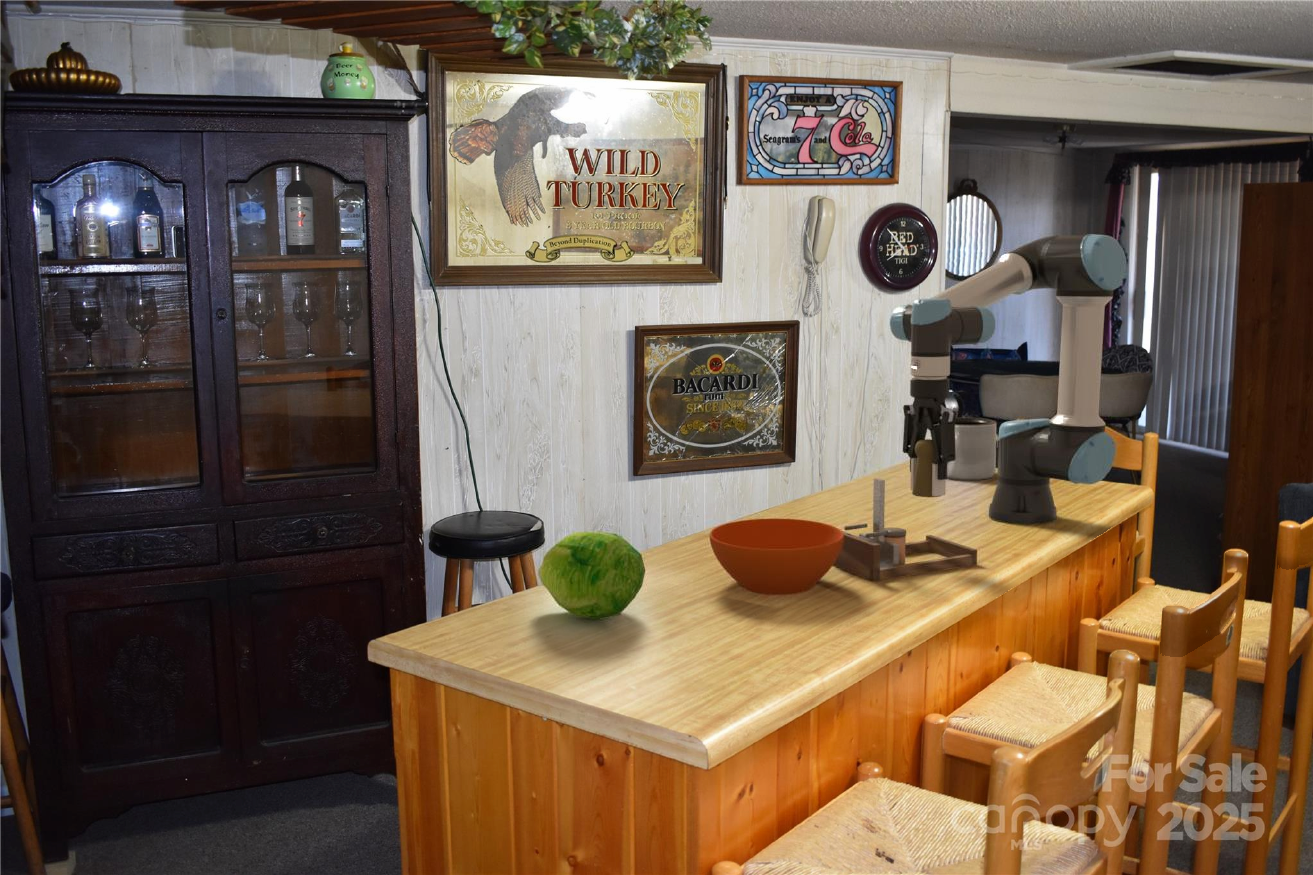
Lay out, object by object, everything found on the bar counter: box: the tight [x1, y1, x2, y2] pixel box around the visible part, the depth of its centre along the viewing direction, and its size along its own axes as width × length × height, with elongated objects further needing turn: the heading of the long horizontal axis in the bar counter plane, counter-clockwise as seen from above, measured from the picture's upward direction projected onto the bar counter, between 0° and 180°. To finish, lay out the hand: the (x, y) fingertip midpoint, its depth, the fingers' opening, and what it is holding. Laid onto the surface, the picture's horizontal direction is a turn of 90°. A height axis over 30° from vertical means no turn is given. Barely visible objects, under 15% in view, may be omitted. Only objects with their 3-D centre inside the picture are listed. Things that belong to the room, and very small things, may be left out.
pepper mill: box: [911, 438, 940, 498], centre depth 229 cm, size 6×6×11 cm
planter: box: [938, 416, 997, 481], centre depth 319 cm, size 16×16×16 cm
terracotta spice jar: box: [884, 526, 907, 565], centre depth 228 cm, size 5×5×7 cm
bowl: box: [709, 518, 844, 596], centre depth 216 cm, size 25×25×10 cm
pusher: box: [858, 477, 899, 568], centre depth 225 cm, size 1×11×18 cm, turn 25°
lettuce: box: [537, 531, 646, 620], centre depth 199 cm, size 17×20×15 cm
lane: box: [833, 523, 978, 582], centre depth 229 cm, size 25×14×8 cm, turn 115°
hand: (927, 492), depth 230 cm, fingers closed on pepper mill, 6 cm apart
